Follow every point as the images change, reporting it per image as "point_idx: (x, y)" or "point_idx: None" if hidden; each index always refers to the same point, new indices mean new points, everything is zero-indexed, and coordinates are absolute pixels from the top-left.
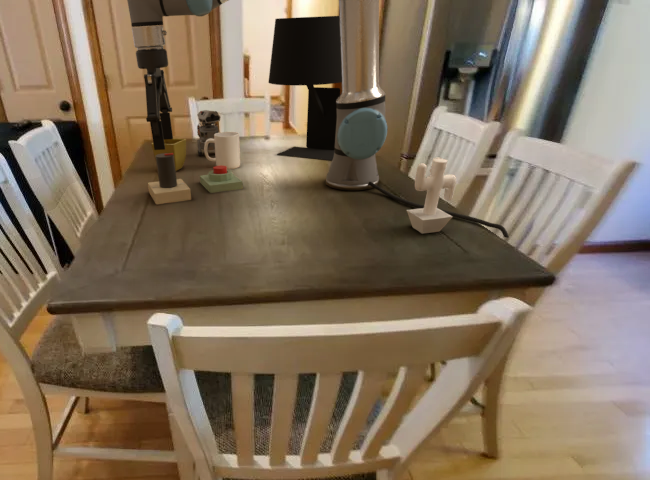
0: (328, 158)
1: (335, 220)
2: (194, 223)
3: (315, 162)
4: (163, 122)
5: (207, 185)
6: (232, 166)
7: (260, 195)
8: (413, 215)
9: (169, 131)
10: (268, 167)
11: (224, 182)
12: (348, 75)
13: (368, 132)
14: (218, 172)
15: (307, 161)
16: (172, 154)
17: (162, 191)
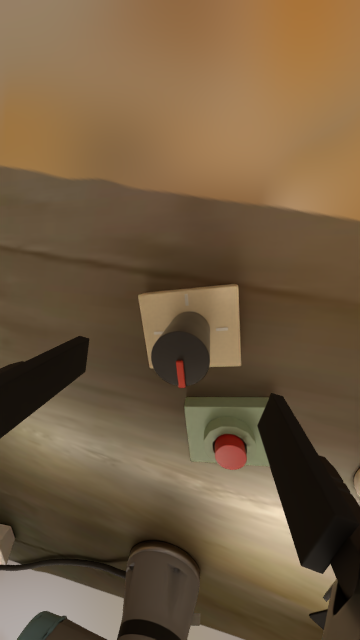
0: (324, 619)
1: (34, 486)
2: (41, 341)
3: (312, 595)
4: (294, 464)
5: (203, 403)
6: (356, 486)
7: (148, 458)
8: None
9: (268, 443)
10: None
11: (194, 434)
12: None
13: None
14: (216, 443)
15: None
16: (178, 383)
17: (148, 313)
